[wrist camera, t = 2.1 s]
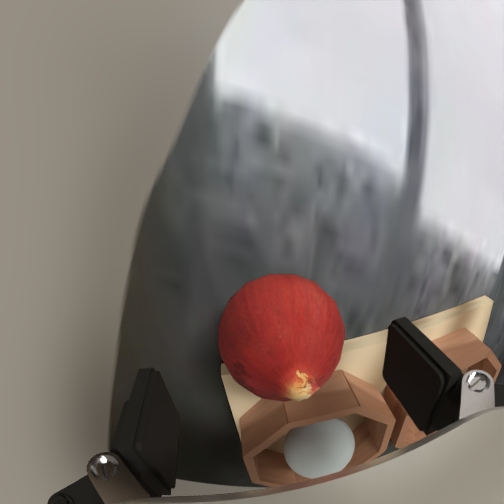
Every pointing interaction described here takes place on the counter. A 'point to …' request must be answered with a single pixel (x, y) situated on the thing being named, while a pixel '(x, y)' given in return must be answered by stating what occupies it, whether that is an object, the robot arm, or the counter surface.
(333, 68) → the counter surface
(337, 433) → the white ball
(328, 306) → the onion
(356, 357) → the pot board
